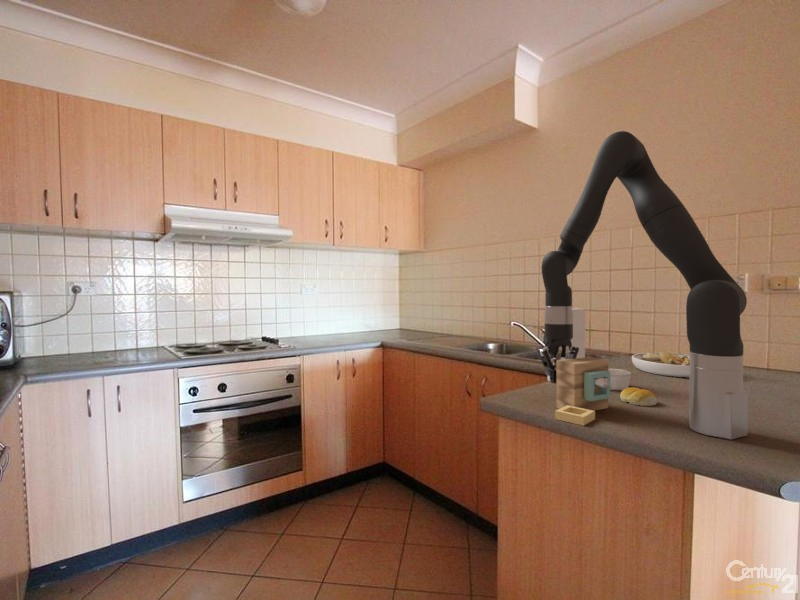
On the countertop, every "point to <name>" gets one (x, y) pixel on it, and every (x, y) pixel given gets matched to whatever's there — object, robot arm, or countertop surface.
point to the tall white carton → (578, 332)
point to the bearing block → (578, 382)
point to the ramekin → (619, 379)
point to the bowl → (663, 363)
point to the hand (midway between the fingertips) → (558, 382)
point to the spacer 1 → (575, 415)
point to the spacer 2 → (589, 386)
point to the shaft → (597, 381)
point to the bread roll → (638, 397)
